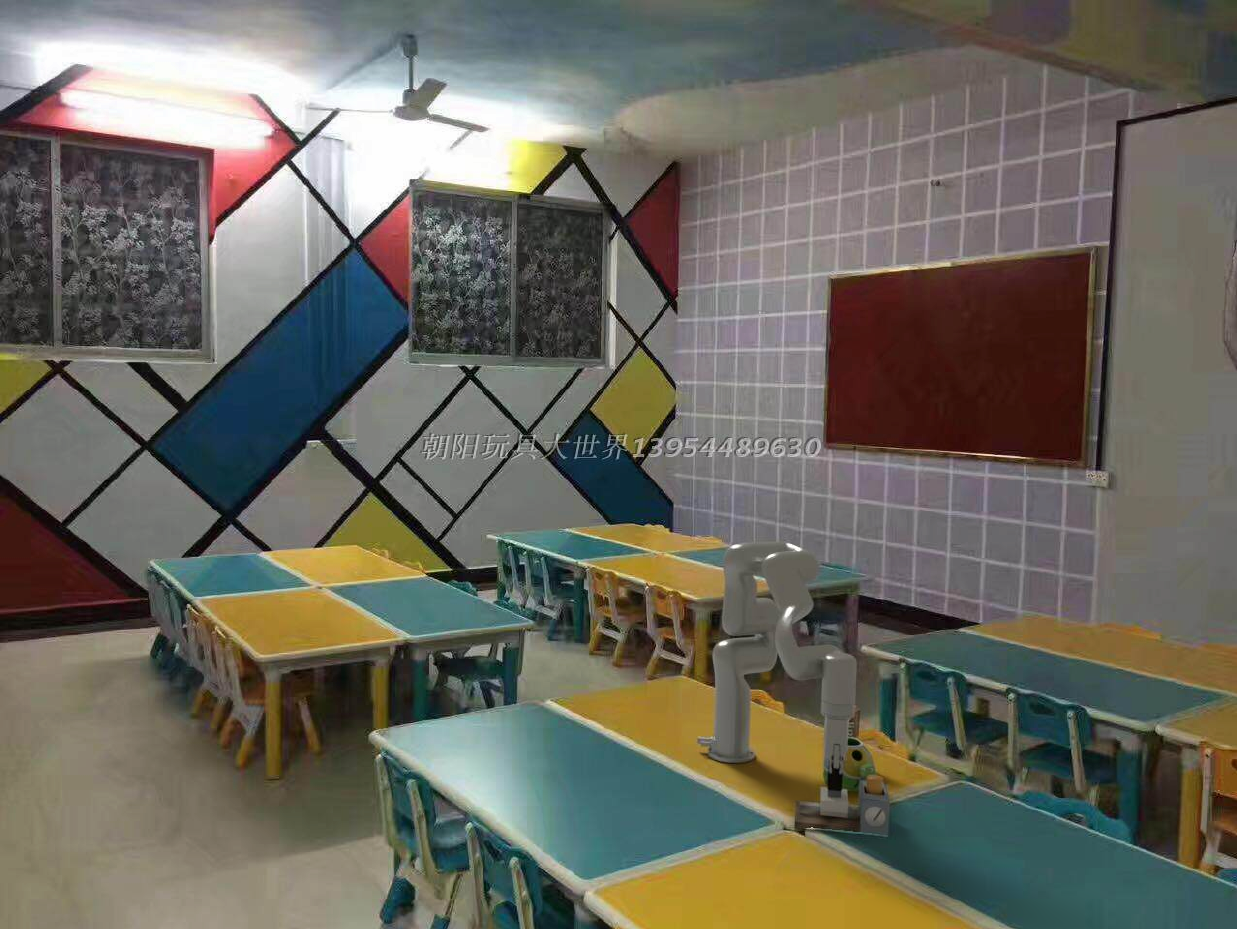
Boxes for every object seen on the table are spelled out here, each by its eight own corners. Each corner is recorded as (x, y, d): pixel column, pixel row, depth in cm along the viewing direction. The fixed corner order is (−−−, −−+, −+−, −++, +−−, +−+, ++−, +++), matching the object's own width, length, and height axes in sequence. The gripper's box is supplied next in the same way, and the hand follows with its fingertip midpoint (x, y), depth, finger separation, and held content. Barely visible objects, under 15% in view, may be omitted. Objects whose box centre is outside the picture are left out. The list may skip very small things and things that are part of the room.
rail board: (794, 827, 233) (794, 812, 233) (795, 806, 245) (795, 792, 245) (860, 834, 231) (861, 819, 231) (858, 813, 243) (858, 798, 242)
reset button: (866, 797, 234) (867, 779, 234) (865, 791, 238) (866, 774, 237) (882, 798, 234) (883, 781, 233) (881, 792, 237) (882, 775, 237)
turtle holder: (846, 808, 245) (848, 759, 244) (813, 779, 263) (815, 733, 262) (893, 804, 248) (895, 755, 247) (858, 776, 266) (860, 730, 265)
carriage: (820, 817, 234) (822, 769, 233) (820, 804, 242) (821, 757, 241) (847, 820, 233) (849, 772, 232) (846, 806, 241) (848, 759, 240)
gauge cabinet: (860, 835, 230) (862, 800, 230) (858, 813, 243) (859, 779, 242) (888, 838, 229) (889, 803, 229) (884, 815, 241) (886, 782, 241)
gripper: (820, 696, 244) (817, 772, 246) (821, 717, 228) (817, 799, 230) (853, 698, 243) (850, 775, 244) (856, 720, 227) (852, 802, 228)
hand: (834, 786), depth 237 cm, fingers closed on carriage, 3 cm apart
